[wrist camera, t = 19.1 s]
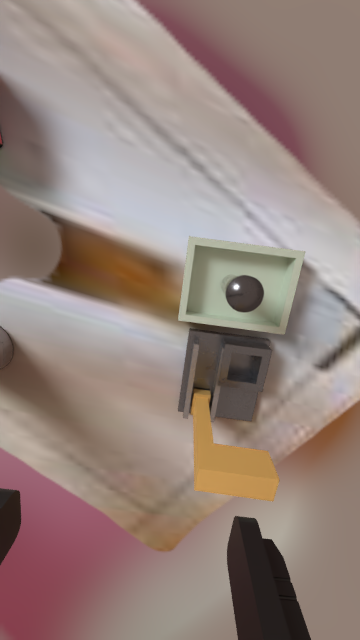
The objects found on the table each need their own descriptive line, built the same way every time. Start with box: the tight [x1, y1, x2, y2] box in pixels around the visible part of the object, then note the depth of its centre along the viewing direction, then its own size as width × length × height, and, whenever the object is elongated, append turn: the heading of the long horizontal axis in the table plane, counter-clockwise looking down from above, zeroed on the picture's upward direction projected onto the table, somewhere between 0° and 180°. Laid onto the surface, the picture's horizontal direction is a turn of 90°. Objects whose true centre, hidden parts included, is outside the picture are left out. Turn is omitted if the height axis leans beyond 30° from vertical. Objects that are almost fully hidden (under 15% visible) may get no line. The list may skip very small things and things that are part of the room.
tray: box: [178, 236, 305, 335], centre depth 36 cm, size 16×12×3 cm
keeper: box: [191, 389, 279, 501], centre depth 34 cm, size 9×4×16 cm, turn 83°
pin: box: [221, 274, 264, 313], centre depth 32 cm, size 4×4×10 cm
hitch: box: [178, 328, 272, 422], centre depth 40 cm, size 13×15×4 cm
